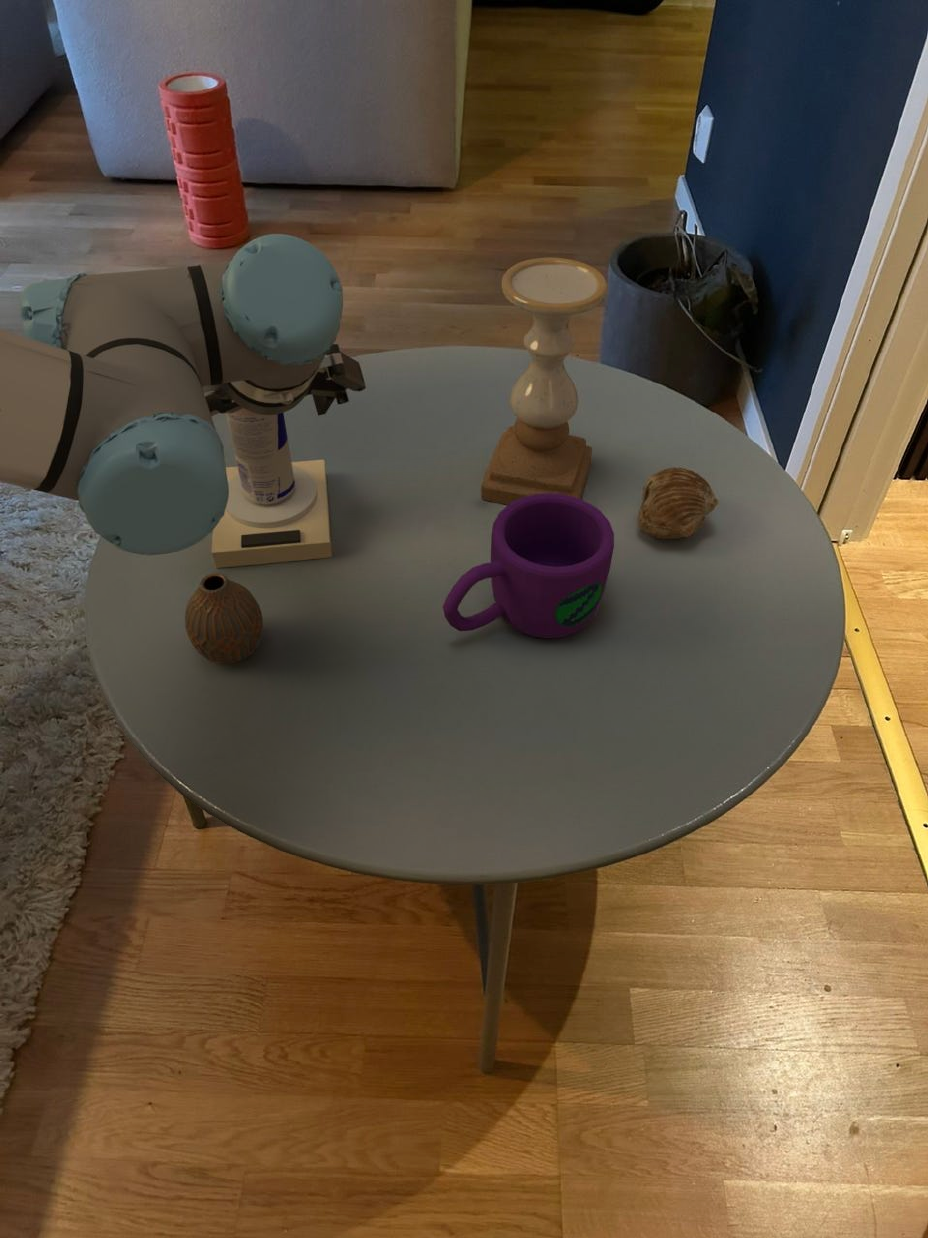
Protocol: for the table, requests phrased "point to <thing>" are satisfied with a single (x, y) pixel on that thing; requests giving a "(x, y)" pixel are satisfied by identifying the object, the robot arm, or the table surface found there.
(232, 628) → the vase
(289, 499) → the kitchen scale
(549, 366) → the candle holder
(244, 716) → the table surface
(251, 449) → the beverage can
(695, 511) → the seashell
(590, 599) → the mug
